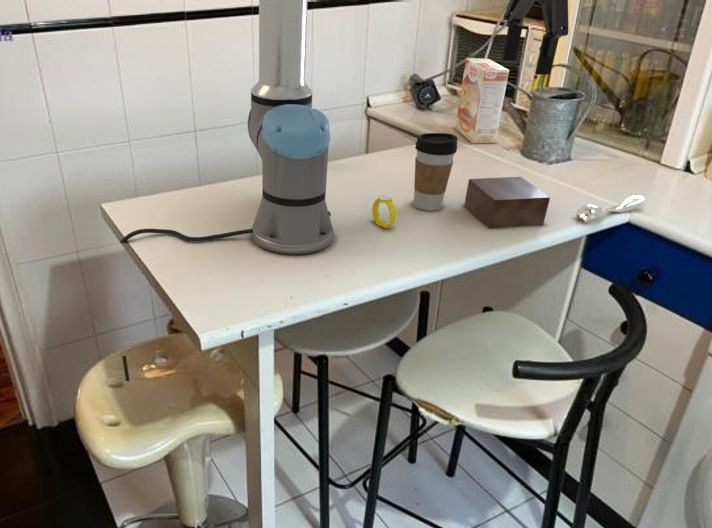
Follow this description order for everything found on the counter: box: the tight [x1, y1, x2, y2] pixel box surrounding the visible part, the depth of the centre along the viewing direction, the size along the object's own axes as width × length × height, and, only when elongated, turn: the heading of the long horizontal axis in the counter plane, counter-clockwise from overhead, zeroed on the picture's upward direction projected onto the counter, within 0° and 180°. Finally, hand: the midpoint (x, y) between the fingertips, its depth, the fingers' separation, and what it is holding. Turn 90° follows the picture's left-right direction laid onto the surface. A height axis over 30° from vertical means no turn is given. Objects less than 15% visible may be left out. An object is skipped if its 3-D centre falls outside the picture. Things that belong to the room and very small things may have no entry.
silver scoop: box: [575, 195, 645, 223], centre depth 139 cm, size 20×4×5 cm
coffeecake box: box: [454, 57, 510, 144], centre depth 181 cm, size 15×7×20 cm, turn 6°
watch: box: [371, 194, 397, 229], centre depth 129 cm, size 6×3×6 cm, turn 31°
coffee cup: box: [413, 132, 459, 212], centre depth 137 cm, size 8×8×15 cm
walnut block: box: [463, 176, 551, 229], centre depth 136 cm, size 12×12×6 cm
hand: (524, 67), depth 130 cm, fingers open, 13 cm apart
